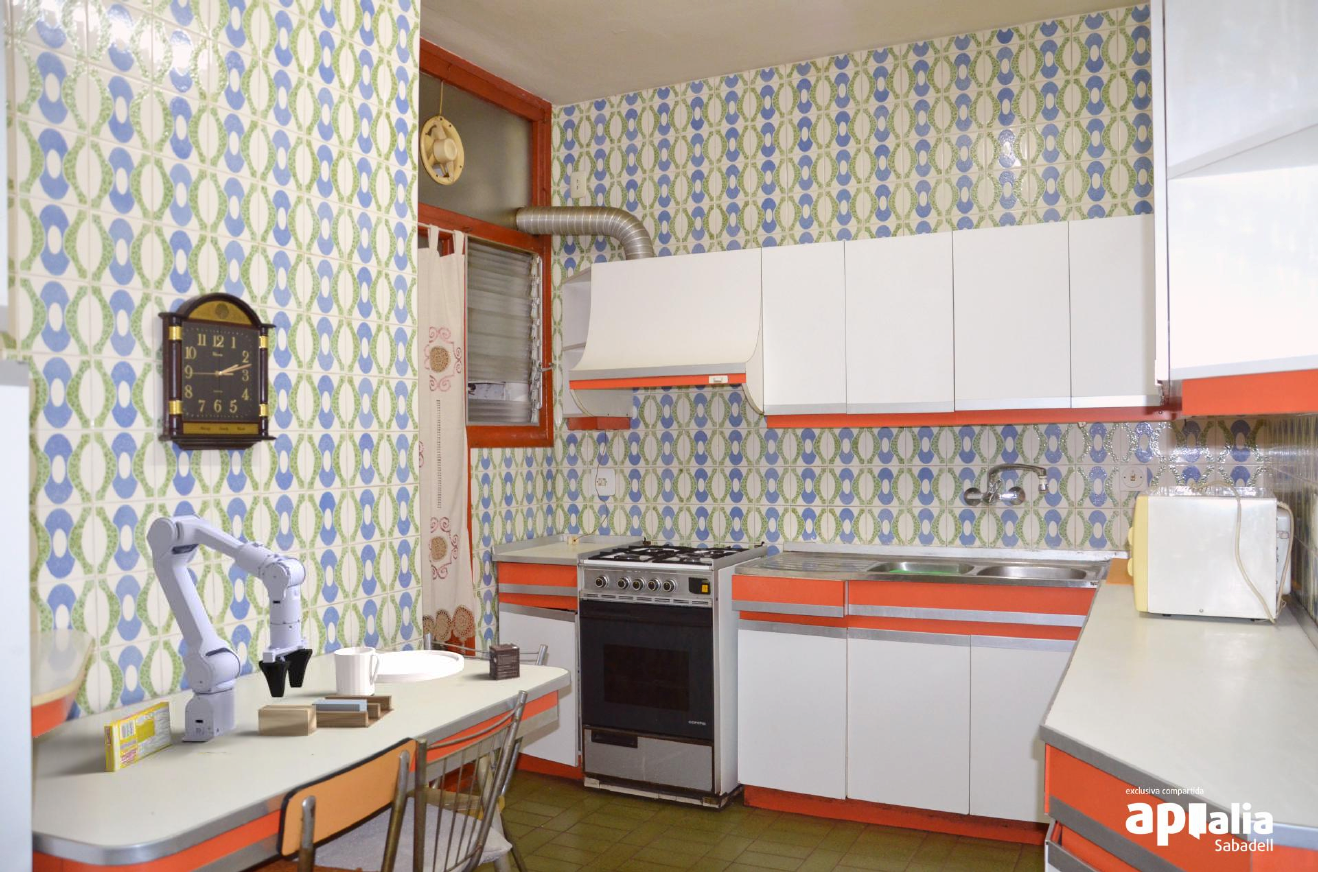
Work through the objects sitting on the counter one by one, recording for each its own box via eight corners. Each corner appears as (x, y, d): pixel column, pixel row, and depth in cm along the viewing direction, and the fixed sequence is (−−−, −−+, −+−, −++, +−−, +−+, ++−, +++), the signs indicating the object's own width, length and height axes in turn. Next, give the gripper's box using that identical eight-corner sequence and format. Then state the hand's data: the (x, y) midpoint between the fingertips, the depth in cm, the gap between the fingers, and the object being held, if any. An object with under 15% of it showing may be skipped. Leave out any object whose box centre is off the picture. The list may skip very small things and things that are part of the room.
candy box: (162, 744, 194) (161, 701, 194) (172, 744, 194) (171, 701, 194) (104, 771, 178) (103, 724, 178) (115, 772, 178) (114, 724, 178)
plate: (332, 685, 241) (331, 675, 241) (369, 660, 269) (369, 650, 269) (448, 683, 240) (448, 673, 240) (474, 658, 268) (474, 649, 268)
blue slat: (360, 724, 201) (359, 703, 201) (311, 723, 202) (311, 703, 202) (367, 719, 205) (366, 699, 205) (319, 718, 206) (319, 699, 206)
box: (489, 675, 246) (488, 645, 246) (513, 672, 249) (512, 642, 249) (496, 680, 241) (495, 649, 241) (520, 677, 243) (519, 647, 243)
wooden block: (308, 741, 194) (307, 709, 194) (258, 740, 195) (258, 709, 195) (316, 735, 198) (315, 705, 198) (267, 735, 199) (267, 704, 199)
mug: (327, 700, 225) (326, 654, 225) (348, 690, 234) (347, 646, 234) (371, 702, 222) (370, 655, 223) (391, 692, 231) (390, 647, 231)
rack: (367, 732, 199) (367, 712, 199) (294, 731, 200) (294, 712, 200) (394, 713, 213) (394, 695, 213) (326, 712, 214) (325, 694, 214)
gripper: (287, 628, 189) (289, 701, 189) (321, 615, 203) (323, 683, 203) (251, 628, 190) (253, 701, 190) (288, 615, 204) (289, 683, 204)
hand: (287, 691), depth 196 cm, fingers open, 7 cm apart
